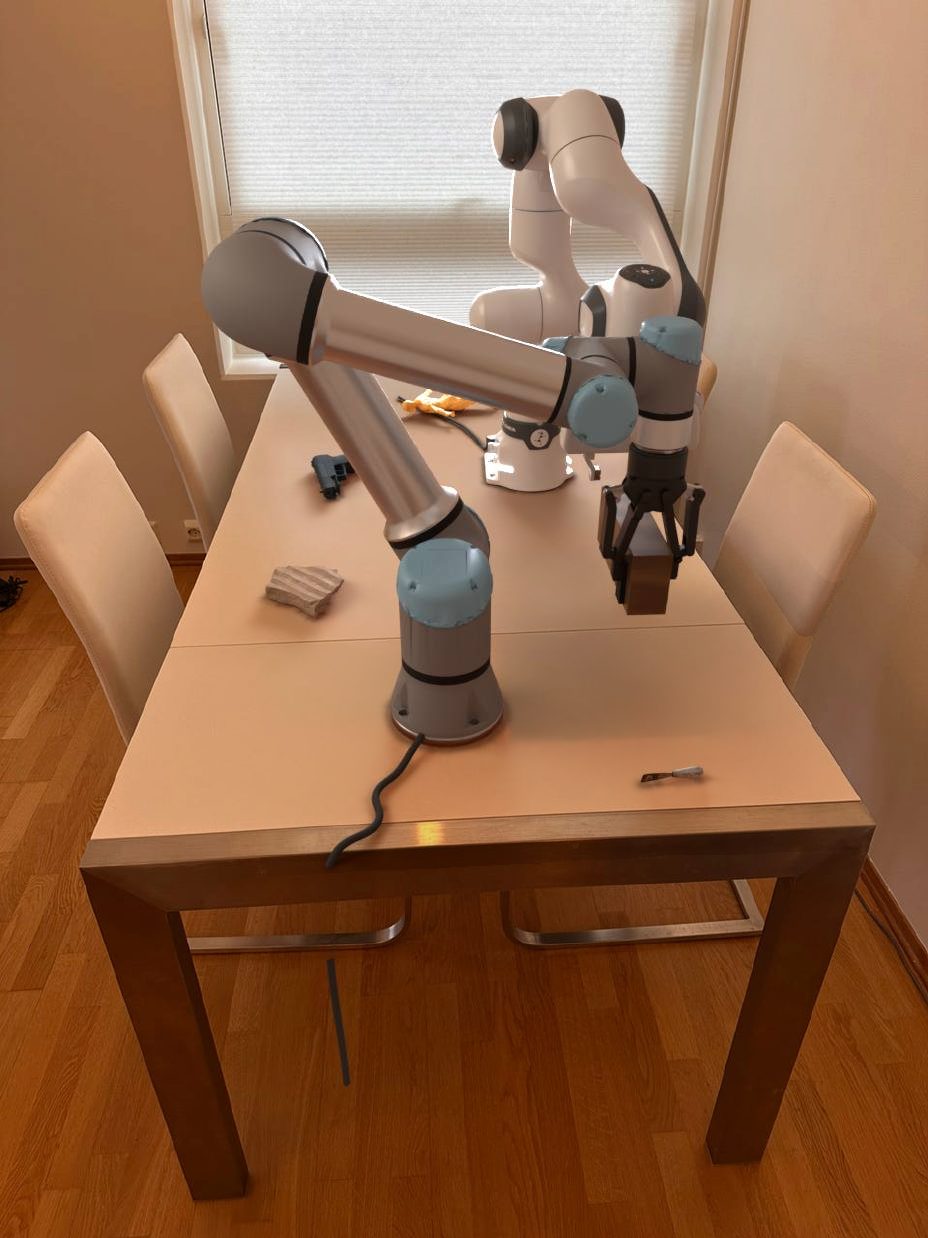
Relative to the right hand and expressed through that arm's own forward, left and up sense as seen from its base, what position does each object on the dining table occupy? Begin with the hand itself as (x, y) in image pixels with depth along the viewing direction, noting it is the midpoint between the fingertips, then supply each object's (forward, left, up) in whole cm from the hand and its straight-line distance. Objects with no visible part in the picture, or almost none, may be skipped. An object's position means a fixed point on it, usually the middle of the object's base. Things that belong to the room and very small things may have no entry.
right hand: (625, 478), depth 135 cm
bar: (+8, -1, -12) cm, 14 cm away
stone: (-12, -50, -21) cm, 55 cm away
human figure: (-98, -8, -21) cm, 100 cm away
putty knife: (+43, -8, -21) cm, 48 cm away
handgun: (-58, -39, -21) cm, 73 cm away
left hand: (+16, -3, -11) cm, 20 cm away
